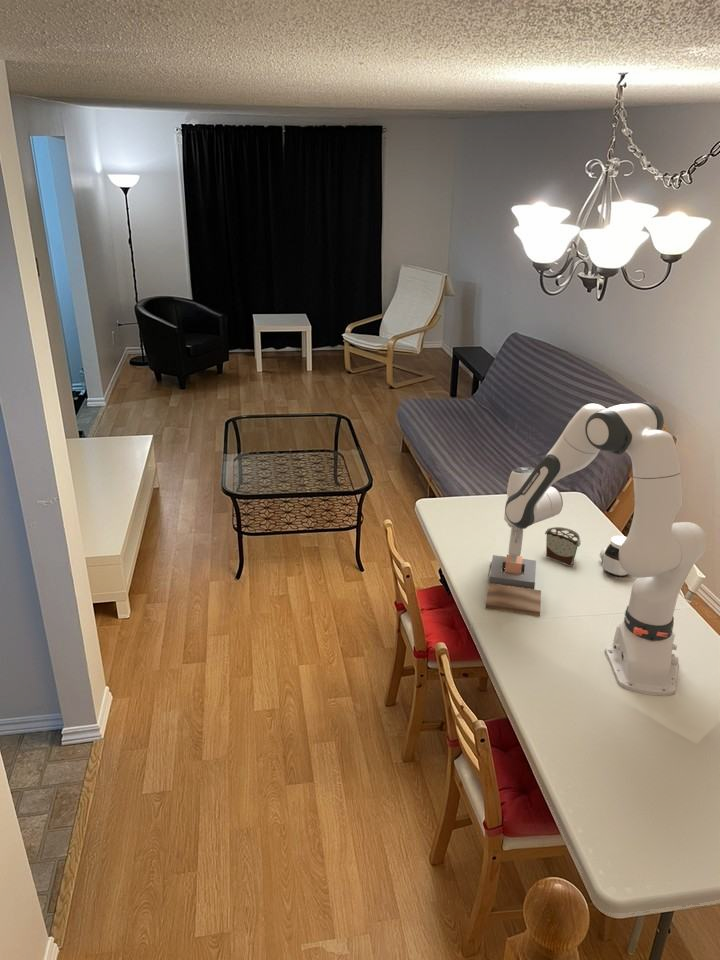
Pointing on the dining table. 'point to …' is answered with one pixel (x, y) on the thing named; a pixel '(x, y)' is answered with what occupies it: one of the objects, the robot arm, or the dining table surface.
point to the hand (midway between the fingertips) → (514, 553)
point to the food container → (562, 544)
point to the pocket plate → (513, 579)
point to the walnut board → (513, 599)
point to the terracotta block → (513, 565)
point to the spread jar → (613, 557)
